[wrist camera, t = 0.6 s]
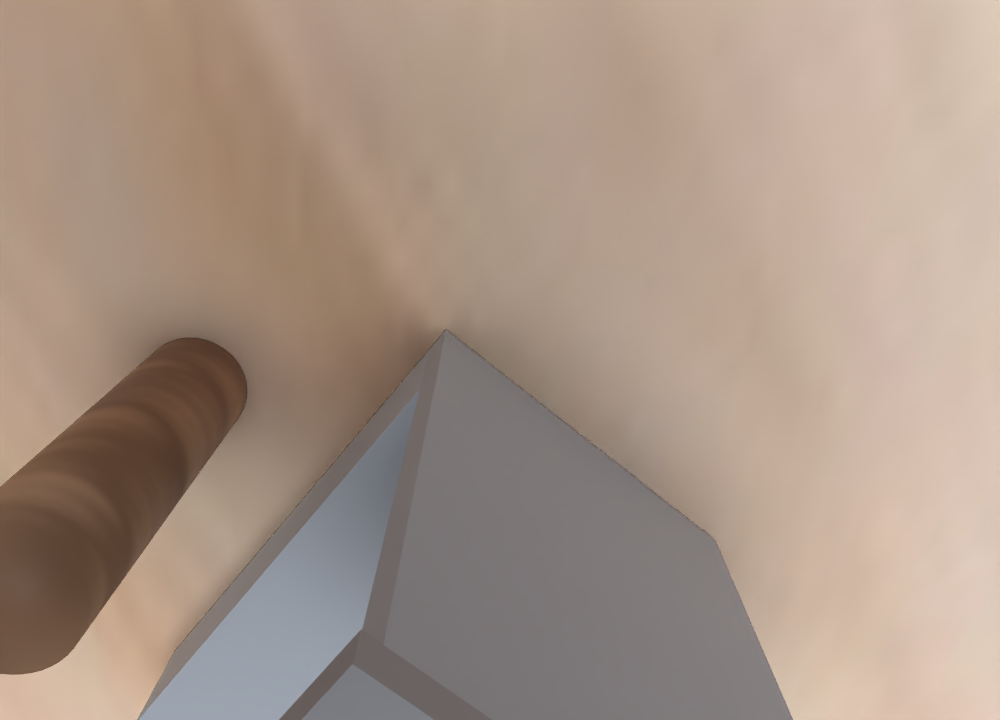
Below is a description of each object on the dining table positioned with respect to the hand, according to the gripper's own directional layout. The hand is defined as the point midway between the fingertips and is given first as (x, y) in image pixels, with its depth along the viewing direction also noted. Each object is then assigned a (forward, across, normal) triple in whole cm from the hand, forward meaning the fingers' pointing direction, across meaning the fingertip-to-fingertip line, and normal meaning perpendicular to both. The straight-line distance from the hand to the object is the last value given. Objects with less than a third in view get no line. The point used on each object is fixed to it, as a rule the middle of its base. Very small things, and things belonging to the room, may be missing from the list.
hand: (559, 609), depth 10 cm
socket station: (+26, -6, -15) cm, 30 cm away
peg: (+26, -13, -4) cm, 29 cm away
